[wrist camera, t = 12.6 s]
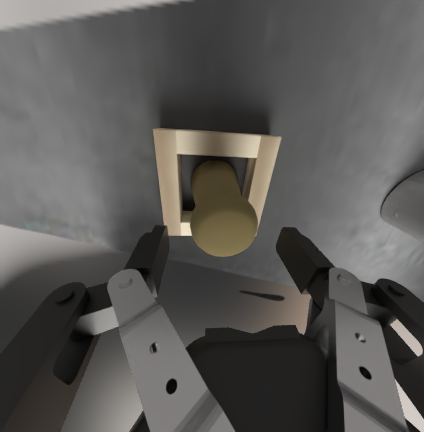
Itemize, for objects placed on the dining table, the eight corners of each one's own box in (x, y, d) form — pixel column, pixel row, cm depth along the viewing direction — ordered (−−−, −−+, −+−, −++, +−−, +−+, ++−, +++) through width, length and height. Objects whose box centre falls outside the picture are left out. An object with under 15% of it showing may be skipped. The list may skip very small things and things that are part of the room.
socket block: (269, 134, 18) (281, 137, 15) (249, 223, 24) (255, 236, 21) (160, 127, 17) (152, 128, 14) (169, 222, 23) (165, 235, 20)
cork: (190, 158, 18) (180, 197, 9) (240, 160, 19) (281, 199, 9) (191, 204, 21) (183, 269, 12) (234, 205, 22) (259, 268, 13)
